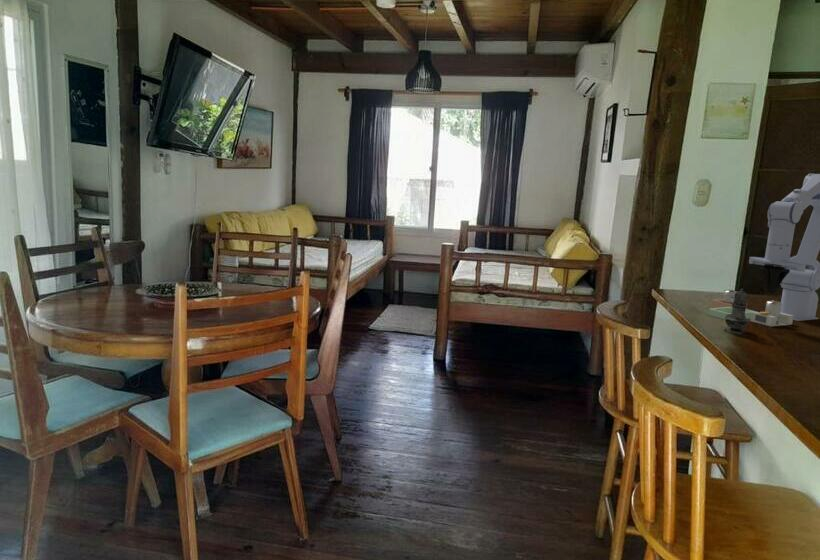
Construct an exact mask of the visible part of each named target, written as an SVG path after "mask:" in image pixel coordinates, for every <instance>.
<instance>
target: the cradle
mask: <svg viewBox="0 0 820 560" xmlns="http://www.w3.org/2000/svg"><path fill="white" fill-rule="evenodd" d="M793 316H794V315H789V314H785V313H781V312H780V318H779V324H776V319H777V317H775V316H771V315H768V312H765V311H760V312H759V311H756V312H751V318H750V319H749V320H750V322H753V323H757V324H759V325H764V326H767V327H782V326H789V325H790V326H791V325H793Z"/></svg>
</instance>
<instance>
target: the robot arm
mask: <svg viewBox="0 0 820 560" xmlns="http://www.w3.org/2000/svg"><path fill="white" fill-rule="evenodd" d="M809 206H812V207H813V209H812V212H811V215H810V218H809V220H808V223H807V226H806V230H805V231H804V234H803V237H802V240H801V242H800V245H799V248H798V251H797V254H796V255H793V256H791V253H792V246H793V242H794V241H793V240H794V233H795V229H796V224H797V223H799V221H800V220H801V217H802V215H803V214H804V211H805V210H806V209H807V208H808V207H809ZM767 220H768V221H767V228H769V230H768V233H767V234H768V235H767V242H766V246H765V247H766V248H765V254H764V257H760V256H759V257H758V256H749V259H748V264H750V265H753V264H754V265H759V266H761V267H760V271H761V274H762V275H763V278H764V282H765V286H766V287H765V288H766V293H768V294H776V293H777V291H778V289H779V287H780V286H781V288H783V289H782V294H781V300H780V303H782V306H781V313H785V314H789V315H794V316H793V320H794V321H798V322H799V321H801V322H802V321H811V320H819V317H816V314H817V309H818V303H819V295H818V293H817V292H816V291H817V290H819V289H820V261H818V260H817V259H818V255H819V252H820V173H808V174H807V175H805V177H804V179H803V182H802V187H801V188H795V189H794V190H792V191H791V192H790V193H789V194H787V195H786V196H785V197H784V198H782V199H781V201H778V200H777V201H775V202H772V203H771V204H770V205H769V207H768V210H767Z"/></svg>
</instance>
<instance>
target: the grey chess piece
mask: <svg viewBox="0 0 820 560" xmlns="http://www.w3.org/2000/svg"><path fill="white" fill-rule="evenodd" d="M747 300H748V294H747V292H745V290H744V289H743V287H742V288H740V290H738V291H736V293H735V296H734V303H733V304H732V305H733V307H732V312H731V315H729V316H726V317H725V319H726V320H725V324H726V325H727V328H724V329H723V331H725V332H726V333H729V334H732V335H733V334H734V335H739V334H740V335H742V336H743V335H746V331H745V330H744V329H745V328H747V327H748V325H749V323H751V321H750V319H747V318H746V317H745V310H746V309H747V308H746V307H748V304H747ZM746 304H747V305H746Z"/></svg>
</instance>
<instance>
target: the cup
mask: <svg viewBox="0 0 820 560" xmlns="http://www.w3.org/2000/svg"><path fill="white" fill-rule="evenodd" d="M746 305H747V307H748V303H746ZM722 307H733V305H732V304H728V303H724V302H723V299H711V304H710V308H722ZM747 307H746V309H748V308H747Z"/></svg>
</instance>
